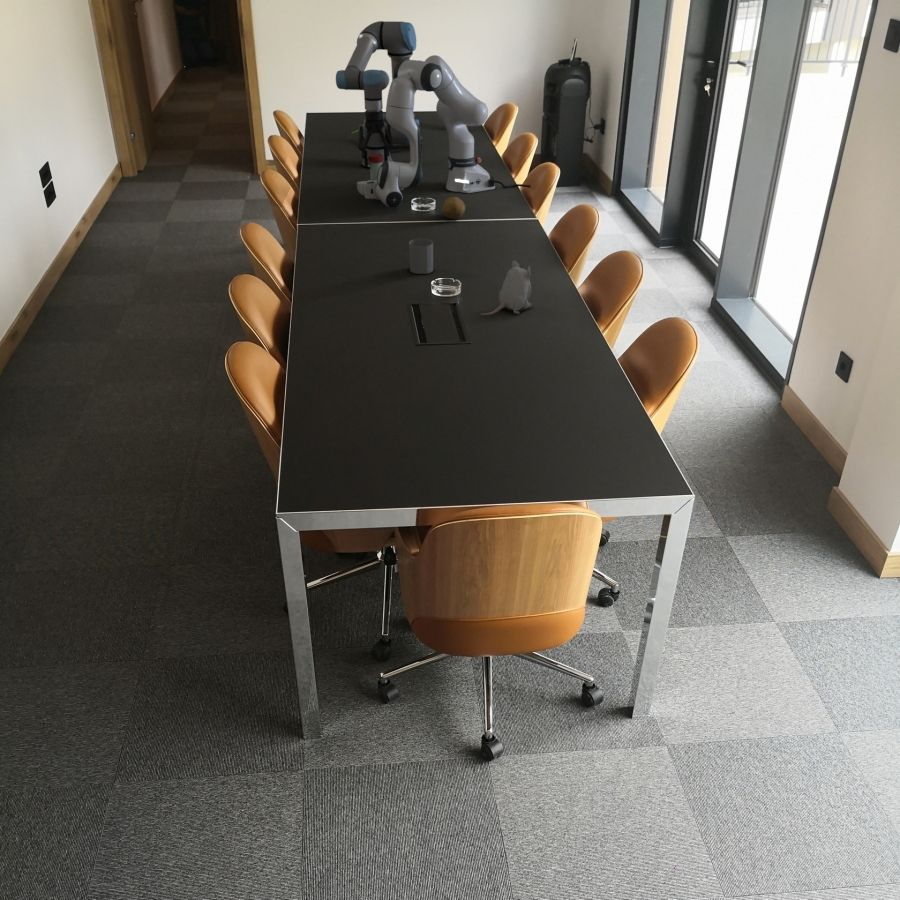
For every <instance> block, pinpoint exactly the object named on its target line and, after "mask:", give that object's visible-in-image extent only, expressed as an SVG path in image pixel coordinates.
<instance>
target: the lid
mask: <svg viewBox="0 0 900 900" xmlns="http://www.w3.org/2000/svg"><path fill="white" fill-rule="evenodd" d="M369 162H372V163H380V162H383V155H382V154H370V155H369Z"/></svg>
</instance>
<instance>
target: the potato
mask: <svg viewBox="0 0 900 900" xmlns="http://www.w3.org/2000/svg"><path fill="white" fill-rule="evenodd" d="M465 210H466V204H465V202H464V200H462V199H460V197H458V196H449V197H447V198H446V200H445V201H444V202H443V203H442V207H441V213H442V214H443V216H445V217H446V218H448V219H450V220H458V219H460V218H462V216H464V214H465Z"/></svg>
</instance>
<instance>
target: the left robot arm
mask: <svg viewBox="0 0 900 900" xmlns="http://www.w3.org/2000/svg"><path fill="white" fill-rule="evenodd" d="M416 49H417V34H416V29H415V27H414V25H413V24H412V23H411V22H408V21H403V20H402V21H390V20H389V21H387V20H385V21H383V20H379V21H374V22H372V23H370V24H369V25H367V26H366V27H365V28H363V29H362V30H361V32H360V33H359V34H358V35H357V38H356V46H355V48H354V50H353V53H352V54H351V56H350V59H349V61H348V63H347V65H346V66H345V69H341V70H337V71H336V73H335V84H336V88H337V89H339V90H345V91H363V96H364V97H363V99H364V110H365V111H364V119H363V124H358V126H357V127H358V130H359V132H358V137H357V143H358V144H356V145H357V146H356V148H357V150H359V151H361V158H362V159H361V166H362V167H363V168H366V169H370V162H369V155H370V154H382V155H383V162H385V161H394V160H393V158H392V155H391V153H400V152H401V149H395V150H394V149H393V150H390V149H391V148H393V147H394V145H403V146H404V145H405V146H410V142H409V139H408V138H407V137H406V136H405V135H404V134H402V133H400V132H399V131H397V130H395V129H394V128H392V127H391V126H390V125H389V123H388V122H387V119H386V113H384V111H383V109H384V108H383V107H384V106H383V104H384V103H383V91H385V90H386V89H387V88H388V86H389V84H390V76H389V74H388V73H387V71H385V70H383V69H367V66H368V63H369V61H370V60H371V57H372V55H373V54H374V53H376V51H379V50H383V51H387V53H386V55H387V56H388V57H389V58H390V64H391V68H390V69H391V82H392V81H393V80H394V77H393V73H394V68H395V66H396V64H397V63H398V62H399V61H400V60H404V59H409V60H411V57H412V56H413V55H414V52H415V51H416ZM413 115H414V119H415V122H416V123H418V125H419V126H420V120H419V119H417V118H416V114H415V113H414V112H413ZM363 130H364V132H363ZM363 133H364V141H362V140H363ZM362 143H363V145H362Z"/></svg>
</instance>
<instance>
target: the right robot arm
mask: <svg viewBox="0 0 900 900" xmlns="http://www.w3.org/2000/svg"><path fill="white" fill-rule="evenodd" d="M393 77H394V80H393V81H392V80H391V82H390V85H389V88H388V93H387V98H386V107H385V114H386V119H387V122H388V123H389V125H390V126H391V127H392V128H394V129H395V130H397V131H399V132H400V133H402V134H404V135H405V136H406V137H407V138H408V139H409V142H410V145H409V155H410V156H409V157H410V161H409V162H401V161H394V160H393V161H385V162H383V163H382V164H381V166H380V167H379V169H378V173H377V180H372V181H371V179H367V180H361V181H357V182H356V190H357V192H358V193H359V194H360V195H362V196H364V198H365V199H367V200H378V201H380V202H381V203H382V204H383V205H384V206H386V207H387V208H390V209H391V208H397V207H399V206H400V205H401V204H402V202H403V199H404V198H403V194H402V191H403V190H404V189H405V188H407V189H410V190H411V189H412V190H415V189H417V188H418V187H419V186H420V185H421V184H423V180H424V179H423V178H424V171H423V163H422V139H421V138H422V137H421V128H420V124H419V125H418V123H416V122H415V119H416V118H415V119H414V115H413V113H414V109H415V94H416V93H417V91H421V92H424V91H425V92H433V93H434V94H435V96H436V98H437V99H438V101H437V103H436V105H435V106H436V109H435V110H436V114H437V116H438V117H439V118H440V121H442V123H443V124H444V127H445V129H446V133H447V137H448V152H449V153H448V157H447V169H448V175H447V179H446V185H445V189H446V190H448V191H451V192H456V193H462V194H463V193H464V194H473V193H479V192H485V191H491V190H495V189H496V184H500V185H501V186H502V187H503V188H504V189H509V188H514V187H523V188H531V187H532V185H530V184H521V183H515V184H510V185H505V184H504V182H502V181H500V180H495V176H490V173H489V172H488V171H487V170H486V169H485V168H483V167H482V166H481V165H480V164H481V162H482V158H480V157H479V156H476V155H475V138H474V136H473V134H472V133H471V132H470V131H469V129H468V128H467V127H466V125H468V127H469V126H470V127H477V126H479V127H480V126H482V125H484V124H485V123H486V122H487V119H488V116H489V109H488V106H487V104H486V102H483V101H482V100H480V99H478V98H477V97H476V96H475V95H473V94H472V93H471V92H470V91H469V90H468V89H467V88H466V87H464V86H463V85H462V83H461V82H460V80H459V79H458V77H457V76H456V74H455V73H454V71H453V70H452V68H451V67H450V65H449V64H448V63H447V62H446V60H444V59H443V57H441V56H440V55H436V54H433V55H430V56H428V57H427V58H426V59H424V60H421V59H420V60H417V59H410V60H409V59H404V60H400V61H399V62H398V63H397V64H396V66H395V68H394V73H393Z"/></svg>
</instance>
